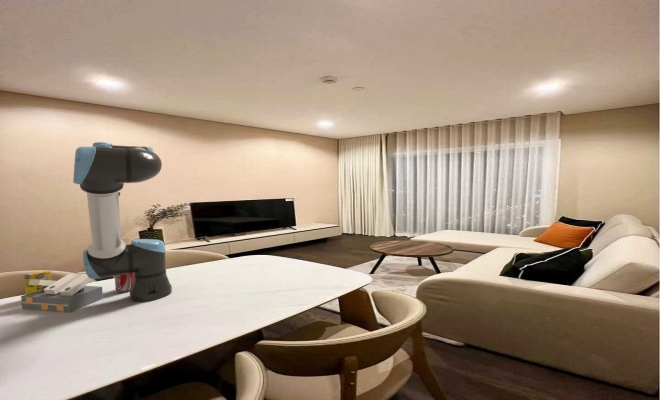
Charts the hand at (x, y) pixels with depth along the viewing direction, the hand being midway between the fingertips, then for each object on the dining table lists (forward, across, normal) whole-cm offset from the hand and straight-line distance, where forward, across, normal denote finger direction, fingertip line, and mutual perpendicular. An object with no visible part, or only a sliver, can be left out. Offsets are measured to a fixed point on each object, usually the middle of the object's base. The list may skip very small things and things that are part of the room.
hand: (108, 228), depth 137 cm
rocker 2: (+18, +21, 0) cm, 28 cm away
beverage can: (+27, +4, +12) cm, 29 cm away
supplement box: (+27, +18, -16) cm, 36 cm away
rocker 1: (+18, +21, -7) cm, 29 cm away
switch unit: (+26, +21, 0) cm, 34 cm away
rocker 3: (+18, +21, +7) cm, 29 cm away
